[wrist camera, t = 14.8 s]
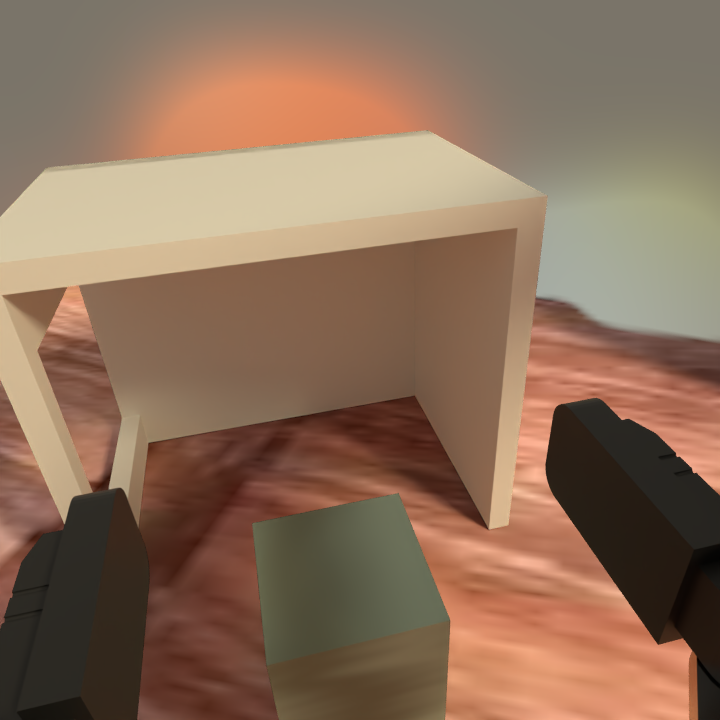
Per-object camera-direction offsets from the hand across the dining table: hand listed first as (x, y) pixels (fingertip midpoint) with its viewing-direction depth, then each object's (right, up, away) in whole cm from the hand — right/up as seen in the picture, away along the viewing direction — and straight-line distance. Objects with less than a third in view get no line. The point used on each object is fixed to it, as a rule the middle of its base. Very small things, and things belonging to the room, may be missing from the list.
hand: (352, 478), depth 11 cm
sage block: (0, -14, +13) cm, 19 cm away
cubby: (-4, -6, +27) cm, 28 cm away
